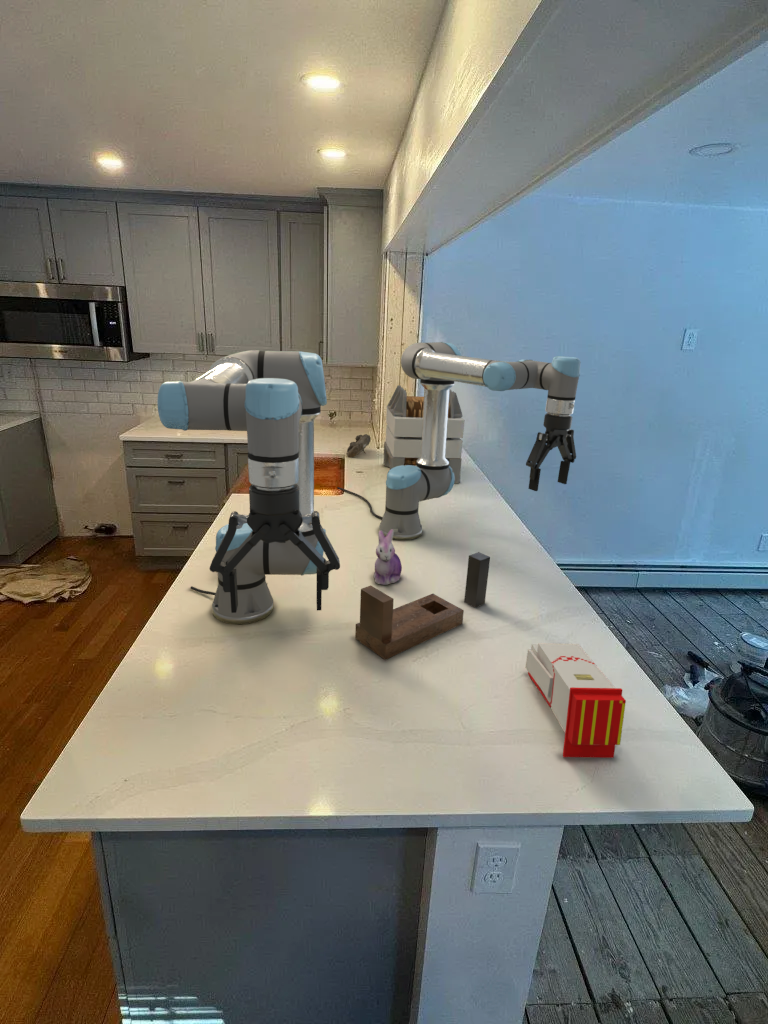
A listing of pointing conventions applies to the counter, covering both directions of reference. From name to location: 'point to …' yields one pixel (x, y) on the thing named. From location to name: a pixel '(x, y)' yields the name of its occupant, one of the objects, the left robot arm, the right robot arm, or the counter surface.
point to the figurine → (386, 560)
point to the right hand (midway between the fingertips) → (547, 486)
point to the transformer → (419, 431)
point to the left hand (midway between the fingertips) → (277, 607)
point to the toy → (578, 698)
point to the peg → (477, 579)
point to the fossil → (358, 445)
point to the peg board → (402, 621)
